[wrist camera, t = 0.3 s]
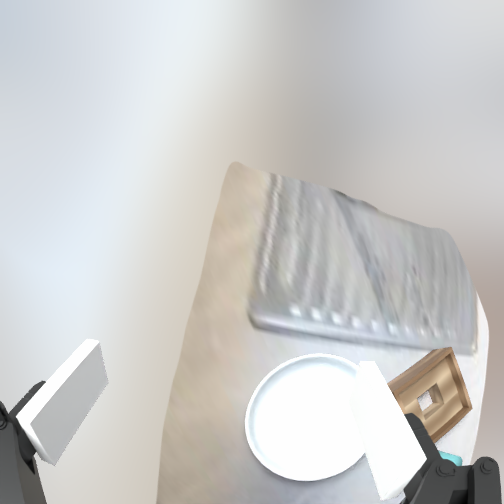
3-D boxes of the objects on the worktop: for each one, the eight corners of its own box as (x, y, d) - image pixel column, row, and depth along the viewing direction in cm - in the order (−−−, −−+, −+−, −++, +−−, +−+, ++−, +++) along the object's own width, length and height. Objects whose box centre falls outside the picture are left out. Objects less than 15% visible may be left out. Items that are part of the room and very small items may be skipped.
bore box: (454, 406, 43) (472, 408, 38) (402, 449, 41) (418, 456, 35) (433, 349, 48) (451, 346, 42) (377, 390, 45) (393, 392, 40)
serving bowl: (337, 335, 49) (351, 330, 42) (378, 433, 42) (395, 440, 36) (224, 383, 45) (222, 386, 39) (272, 484, 39) (277, 500, 32)
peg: (427, 454, 40) (463, 466, 29) (412, 466, 39) (447, 481, 28) (423, 441, 41) (459, 451, 30) (407, 453, 40) (442, 467, 29)
